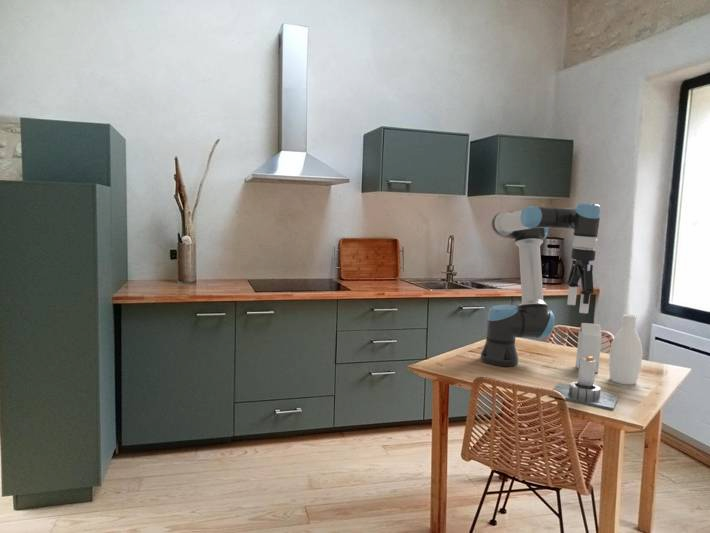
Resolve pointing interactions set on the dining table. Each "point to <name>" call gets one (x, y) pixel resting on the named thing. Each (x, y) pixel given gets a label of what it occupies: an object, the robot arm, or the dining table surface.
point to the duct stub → (586, 373)
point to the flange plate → (599, 402)
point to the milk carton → (589, 343)
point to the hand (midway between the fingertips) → (577, 308)
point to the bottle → (626, 353)
